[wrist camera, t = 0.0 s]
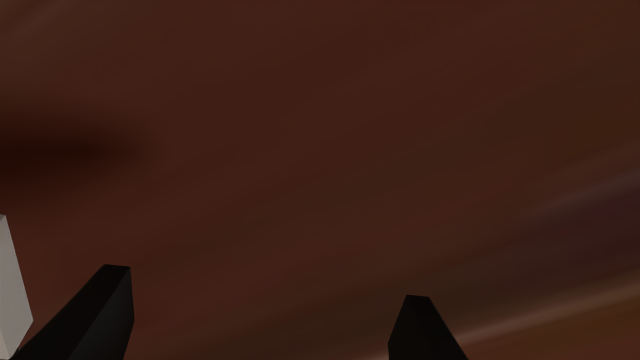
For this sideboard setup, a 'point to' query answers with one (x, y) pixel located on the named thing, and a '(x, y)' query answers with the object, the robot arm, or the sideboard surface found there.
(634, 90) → the sideboard surface
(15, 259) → the grey base
